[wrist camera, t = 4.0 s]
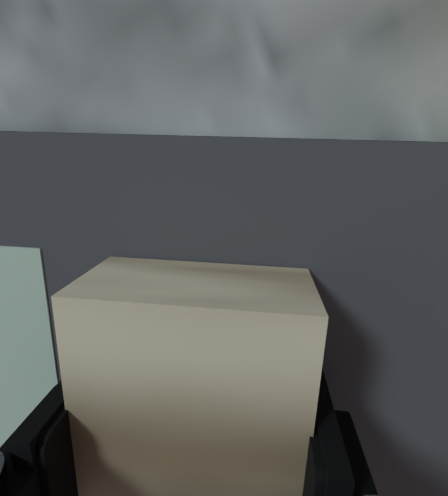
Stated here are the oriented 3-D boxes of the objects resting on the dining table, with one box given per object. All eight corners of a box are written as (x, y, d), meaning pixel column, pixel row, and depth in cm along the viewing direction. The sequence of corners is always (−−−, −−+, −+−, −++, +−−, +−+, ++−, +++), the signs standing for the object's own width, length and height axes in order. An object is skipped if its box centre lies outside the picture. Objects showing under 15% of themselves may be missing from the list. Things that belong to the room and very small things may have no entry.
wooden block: (284, 500, 12) (292, 611, 9) (125, 479, 13) (84, 577, 10) (309, 268, 10) (330, 317, 7) (109, 256, 10) (49, 296, 7)
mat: (449, 607, 13) (457, 626, 13) (-153, 512, 16) (-167, 524, 16) (604, 147, 8) (627, 146, 8) (-308, 123, 11) (-337, 122, 11)
